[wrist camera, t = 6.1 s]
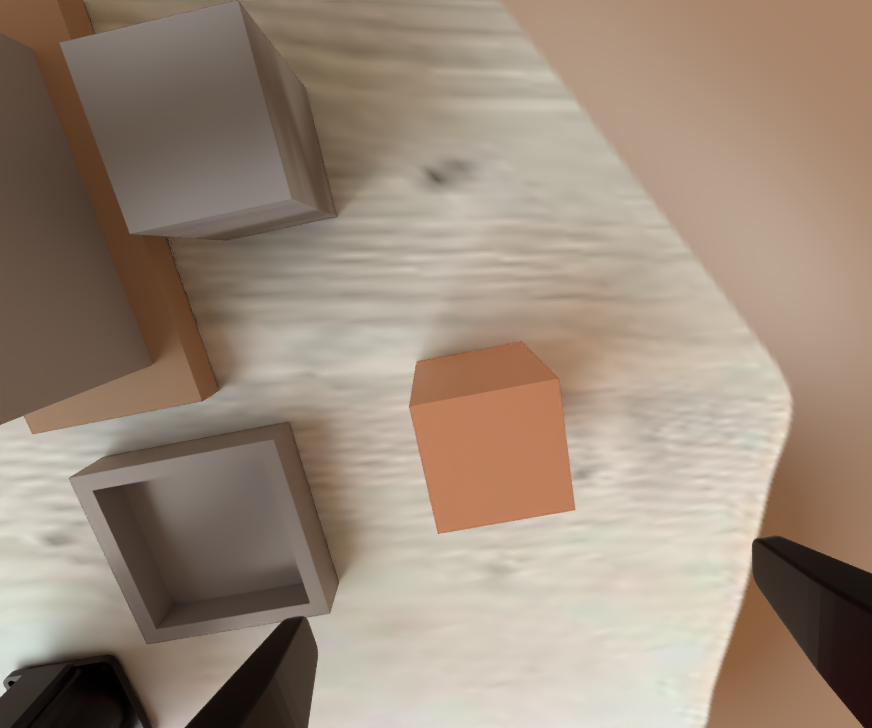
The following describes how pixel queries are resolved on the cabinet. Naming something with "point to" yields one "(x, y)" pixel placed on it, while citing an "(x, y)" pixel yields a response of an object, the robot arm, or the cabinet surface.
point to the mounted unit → (77, 253)
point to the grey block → (201, 126)
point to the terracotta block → (491, 437)
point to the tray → (211, 533)
